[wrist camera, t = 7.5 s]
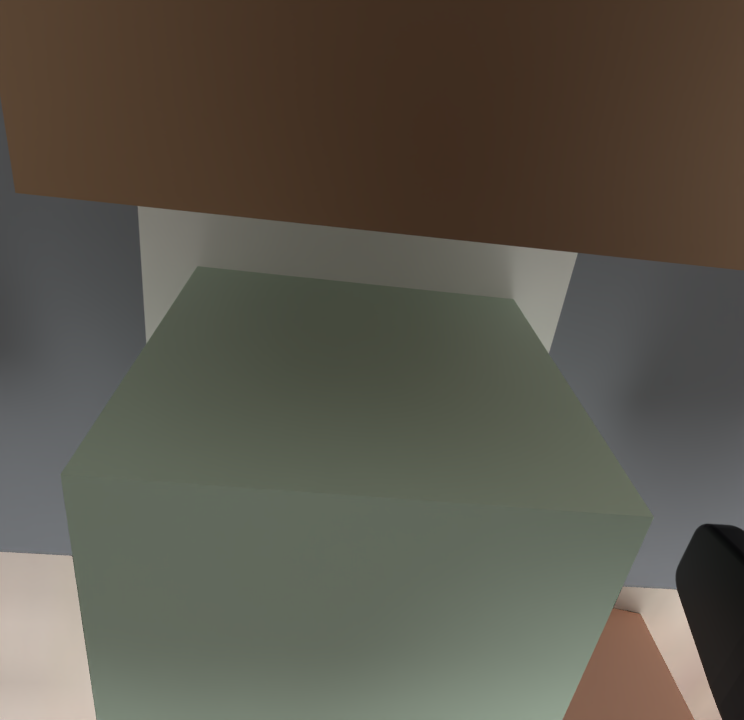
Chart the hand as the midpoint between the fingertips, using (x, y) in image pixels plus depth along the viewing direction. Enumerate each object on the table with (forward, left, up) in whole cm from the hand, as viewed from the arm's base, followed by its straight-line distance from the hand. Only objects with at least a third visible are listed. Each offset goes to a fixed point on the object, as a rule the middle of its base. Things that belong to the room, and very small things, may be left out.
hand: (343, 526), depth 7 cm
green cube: (0, 0, -2) cm, 2 cm away
